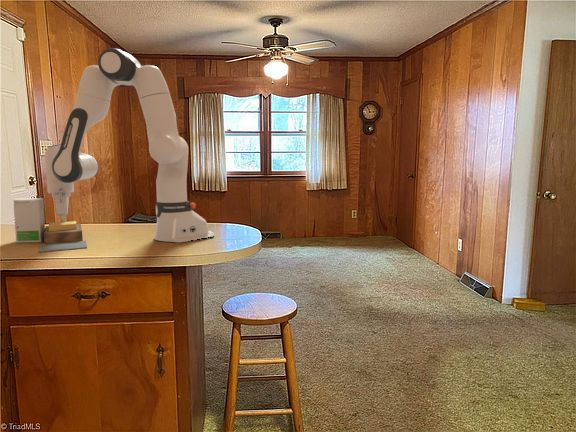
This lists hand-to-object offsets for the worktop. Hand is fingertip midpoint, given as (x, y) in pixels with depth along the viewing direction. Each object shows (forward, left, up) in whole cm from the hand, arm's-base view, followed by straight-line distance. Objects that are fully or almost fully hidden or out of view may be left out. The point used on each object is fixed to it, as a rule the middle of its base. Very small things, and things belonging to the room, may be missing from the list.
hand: (63, 223), depth 157 cm
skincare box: (+11, +2, -5) cm, 12 cm away
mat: (0, +18, -5) cm, 19 cm away
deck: (0, +4, -5) cm, 7 cm away
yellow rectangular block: (0, +4, -1) cm, 5 cm away
